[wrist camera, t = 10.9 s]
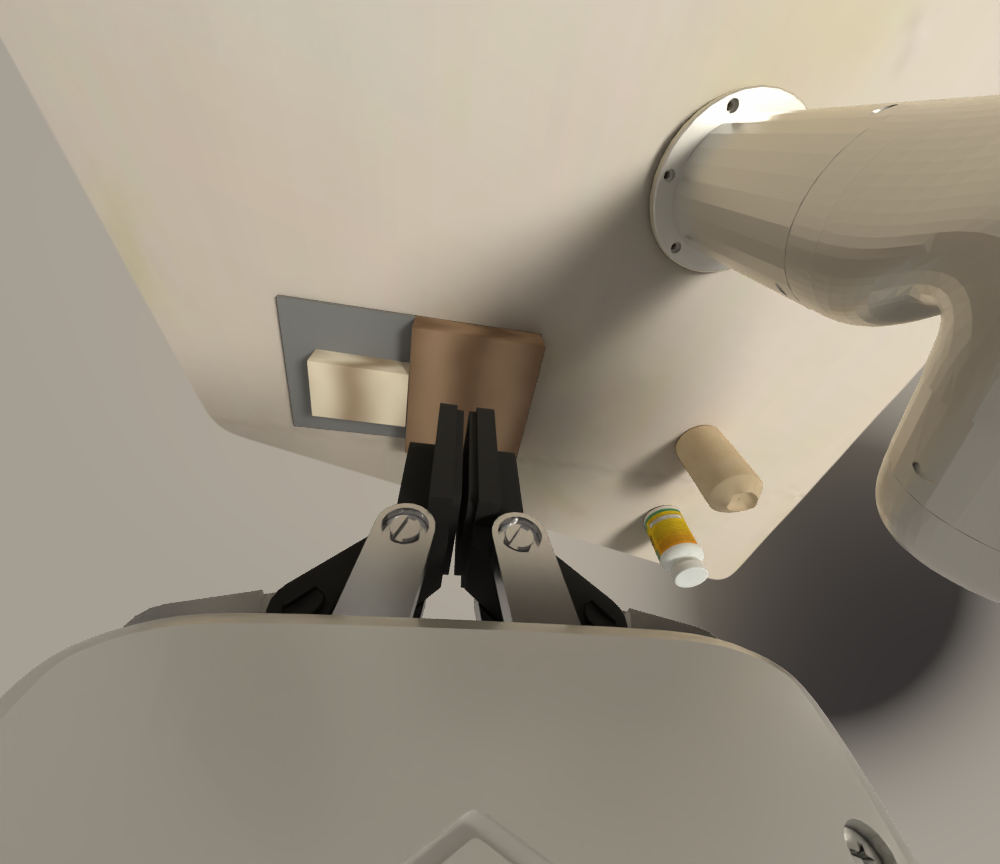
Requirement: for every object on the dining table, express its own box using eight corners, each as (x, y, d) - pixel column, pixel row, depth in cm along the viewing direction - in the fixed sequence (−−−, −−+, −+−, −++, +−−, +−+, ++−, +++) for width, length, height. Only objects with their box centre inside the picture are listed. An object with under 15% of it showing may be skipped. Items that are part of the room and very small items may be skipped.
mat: (415, 315, 38) (415, 317, 37) (408, 435, 46) (408, 438, 45) (278, 294, 36) (276, 296, 36) (295, 423, 44) (294, 426, 44)
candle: (670, 462, 50) (708, 524, 42) (680, 426, 47) (723, 486, 39) (714, 458, 51) (760, 520, 42) (727, 422, 47) (779, 482, 39)
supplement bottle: (688, 516, 57) (722, 577, 49) (655, 535, 59) (682, 596, 51) (669, 497, 54) (701, 558, 46) (635, 518, 56) (660, 579, 48)
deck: (541, 334, 40) (545, 347, 37) (512, 446, 48) (515, 463, 45) (415, 315, 38) (411, 327, 35) (408, 435, 46) (405, 452, 43)
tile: (411, 362, 40) (408, 375, 38) (408, 413, 43) (405, 426, 41) (315, 349, 39) (307, 360, 37) (319, 402, 42) (312, 415, 40)
